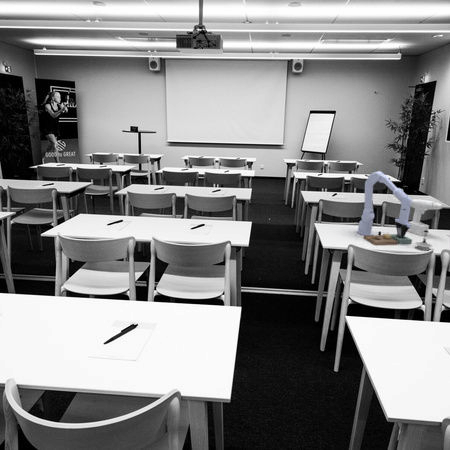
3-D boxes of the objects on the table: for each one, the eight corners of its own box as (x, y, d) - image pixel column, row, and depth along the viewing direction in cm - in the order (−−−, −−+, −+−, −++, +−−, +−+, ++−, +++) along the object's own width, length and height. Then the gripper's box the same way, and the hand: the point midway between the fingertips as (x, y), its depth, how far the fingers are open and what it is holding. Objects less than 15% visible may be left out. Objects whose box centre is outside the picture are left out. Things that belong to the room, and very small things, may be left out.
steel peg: (394, 238, 270) (396, 227, 267) (400, 238, 270) (401, 227, 268) (398, 240, 266) (400, 229, 264) (403, 240, 267) (405, 228, 264)
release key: (381, 240, 268) (382, 233, 267) (387, 240, 269) (388, 233, 268) (385, 242, 264) (386, 235, 263) (390, 242, 265) (391, 235, 264)
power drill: (431, 239, 276) (438, 204, 269) (402, 230, 296) (408, 196, 289) (439, 238, 279) (446, 203, 273) (410, 229, 300) (416, 196, 293)
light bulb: (421, 227, 259) (415, 229, 253) (438, 230, 252) (431, 233, 246) (418, 245, 262) (411, 247, 256) (434, 249, 255) (427, 252, 249)
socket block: (363, 238, 271) (364, 235, 270) (385, 238, 274) (385, 235, 273) (374, 245, 258) (375, 242, 257) (397, 244, 261) (397, 241, 260)
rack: (388, 238, 273) (389, 234, 272) (400, 238, 275) (401, 234, 274) (399, 244, 262) (399, 239, 261) (411, 243, 264) (412, 239, 263)
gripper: (416, 218, 258) (413, 238, 261) (403, 212, 271) (399, 231, 275) (406, 218, 256) (403, 238, 260) (393, 212, 270) (390, 231, 274)
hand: (400, 234), depth 267 cm, fingers closed on steel peg, 4 cm apart
